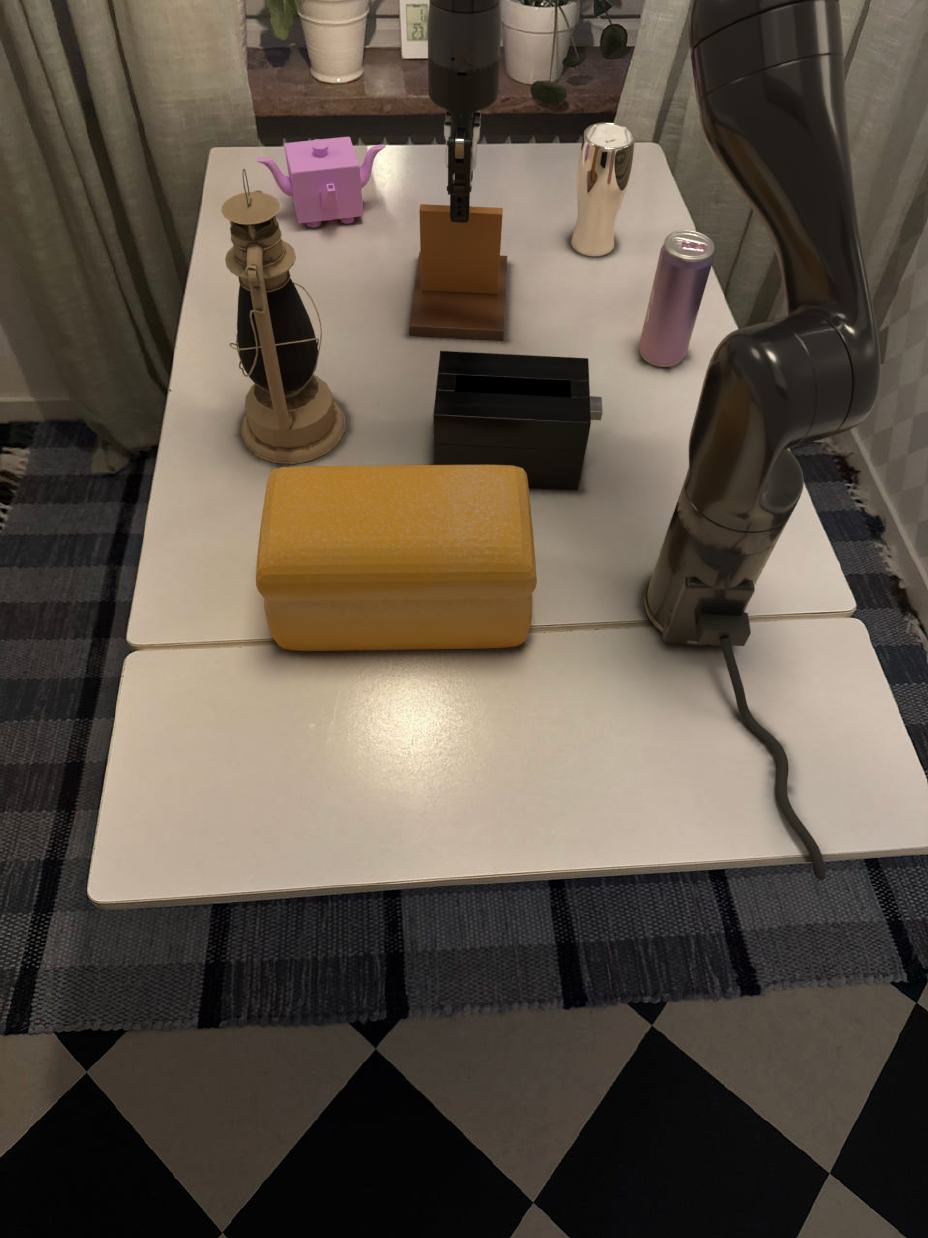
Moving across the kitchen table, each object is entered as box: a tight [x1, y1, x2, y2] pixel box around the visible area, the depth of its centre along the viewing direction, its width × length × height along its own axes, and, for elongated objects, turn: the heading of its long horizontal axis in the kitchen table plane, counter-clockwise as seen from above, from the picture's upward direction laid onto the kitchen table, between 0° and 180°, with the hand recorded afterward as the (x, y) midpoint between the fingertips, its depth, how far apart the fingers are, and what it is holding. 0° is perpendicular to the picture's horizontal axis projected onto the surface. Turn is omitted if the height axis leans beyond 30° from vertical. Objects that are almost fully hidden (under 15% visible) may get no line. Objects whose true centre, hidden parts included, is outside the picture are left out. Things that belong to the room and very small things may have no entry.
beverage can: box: [638, 229, 716, 368], centre depth 101 cm, size 6×6×15 cm
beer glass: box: [570, 122, 636, 257], centre depth 114 cm, size 7×7×15 cm
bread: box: [255, 464, 538, 652], centre depth 80 cm, size 24×13×15 cm, turn 92°
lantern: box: [220, 168, 346, 465], centre depth 87 cm, size 14×12×30 cm
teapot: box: [254, 136, 386, 229], centre depth 119 cm, size 18×13×10 cm
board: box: [408, 251, 508, 341], centre depth 112 cm, size 16×12×2 cm
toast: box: [418, 203, 504, 294], centre depth 107 cm, size 1×10×11 cm, turn 87°
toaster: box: [432, 350, 604, 491], centre depth 93 cm, size 10×18×10 cm, turn 87°
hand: (461, 200), depth 102 cm, fingers open, 8 cm apart
